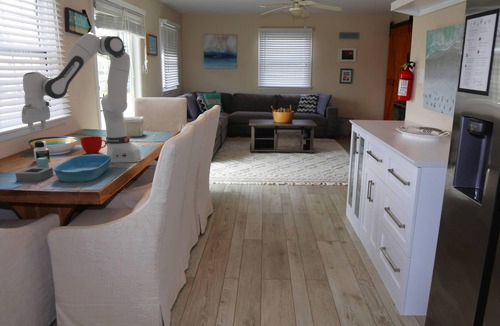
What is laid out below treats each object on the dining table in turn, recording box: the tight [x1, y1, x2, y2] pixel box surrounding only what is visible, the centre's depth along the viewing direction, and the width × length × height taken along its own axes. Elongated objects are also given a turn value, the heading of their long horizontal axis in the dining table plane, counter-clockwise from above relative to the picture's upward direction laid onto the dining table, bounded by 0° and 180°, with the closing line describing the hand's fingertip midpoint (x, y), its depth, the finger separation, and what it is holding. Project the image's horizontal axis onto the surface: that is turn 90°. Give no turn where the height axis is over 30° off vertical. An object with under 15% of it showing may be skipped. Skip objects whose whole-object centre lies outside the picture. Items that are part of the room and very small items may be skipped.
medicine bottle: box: [33, 140, 51, 162], centre depth 239 cm, size 7×7×12 cm
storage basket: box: [123, 116, 145, 138], centre depth 327 cm, size 24×16×15 cm
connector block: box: [35, 158, 50, 168], centre depth 216 cm, size 4×4×7 cm
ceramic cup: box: [79, 136, 107, 155], centre depth 260 cm, size 13×17×10 cm
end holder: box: [15, 166, 54, 182], centre depth 203 cm, size 12×12×4 cm
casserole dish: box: [52, 153, 112, 183], centre depth 209 cm, size 37×22×7 cm, turn 2°
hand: (37, 130), depth 212 cm, fingers open, 8 cm apart
